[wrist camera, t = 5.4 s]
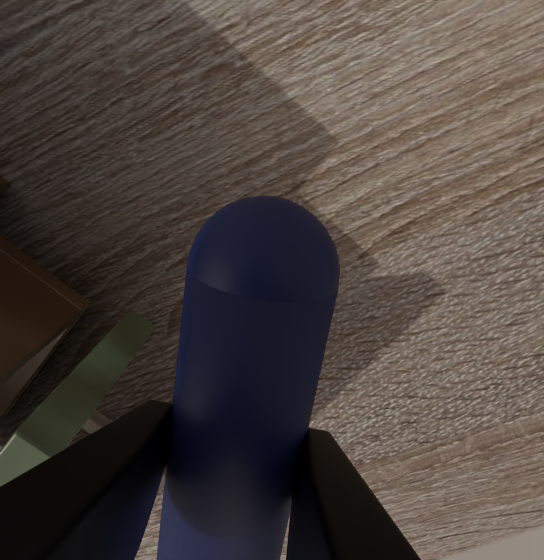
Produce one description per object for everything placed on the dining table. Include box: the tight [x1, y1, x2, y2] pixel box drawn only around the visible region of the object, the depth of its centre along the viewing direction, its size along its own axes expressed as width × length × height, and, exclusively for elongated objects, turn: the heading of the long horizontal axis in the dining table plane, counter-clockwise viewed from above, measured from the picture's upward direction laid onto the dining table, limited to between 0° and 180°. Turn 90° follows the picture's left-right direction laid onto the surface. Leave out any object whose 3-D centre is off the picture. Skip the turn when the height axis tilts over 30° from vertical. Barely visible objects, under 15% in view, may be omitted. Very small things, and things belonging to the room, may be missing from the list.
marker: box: [157, 196, 340, 560], centre depth 8 cm, size 8×2×2 cm, turn 171°
